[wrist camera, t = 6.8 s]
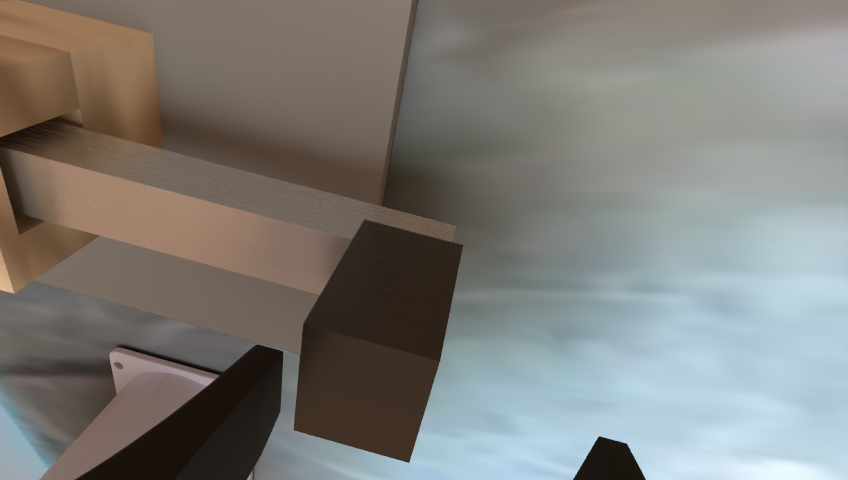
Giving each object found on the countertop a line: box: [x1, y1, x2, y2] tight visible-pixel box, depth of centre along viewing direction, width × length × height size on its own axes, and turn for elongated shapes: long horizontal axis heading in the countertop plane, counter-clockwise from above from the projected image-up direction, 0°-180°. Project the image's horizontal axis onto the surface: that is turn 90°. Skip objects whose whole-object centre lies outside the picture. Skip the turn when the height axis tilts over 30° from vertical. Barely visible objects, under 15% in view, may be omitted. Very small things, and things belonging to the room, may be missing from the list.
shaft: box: [0, 120, 463, 463], centre depth 12 cm, size 3×15×6 cm, turn 79°
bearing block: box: [0, 0, 163, 294], centre depth 15 cm, size 6×5×7 cm
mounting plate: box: [21, 0, 418, 354], centre depth 19 cm, size 20×18×1 cm
